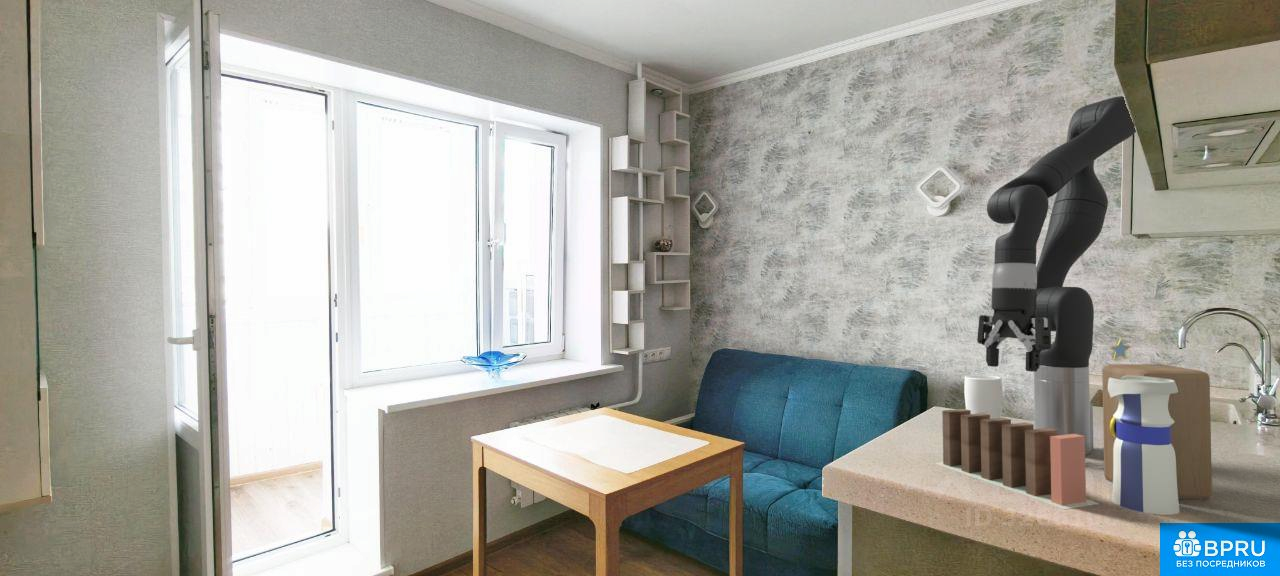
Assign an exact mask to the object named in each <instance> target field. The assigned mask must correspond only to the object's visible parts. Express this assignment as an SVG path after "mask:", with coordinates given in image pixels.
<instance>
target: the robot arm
mask: <svg viewBox="0 0 1280 576" xmlns="http://www.w3.org/2000/svg"><path fill="white" fill-rule="evenodd" d="M1123 96H1124V95H1120V96H1114V97H1110V98H1107V99H1103V100H1100V101H1096V102H1093V103H1089V104H1087V105H1084V106H1082V107H1080V108H1078V109H1076V111H1075V112H1073V114H1072V116H1071V118H1070V121H1069V125H1068V129H1067V134H1066V135H1067V137H1066V142H1065V143H1062V144H1060V145H1059V146H1057V147H1055V148H1054V149H1052V150H1051V151H1049V152H1047V153H1046V154H1044V155H1043V156H1042V157H1040V158H1039V160H1037V161H1036V162H1035V163H1034V164H1033V165H1032V166H1031V167H1029V168H1028V169H1027V170H1026V172H1025V173H1023V174H1020V176H1017V177H1015V178H1014V179H1012V180H1011V181H1009V182H1007V183H1006V184H1003V185H1002V186H1001V187H999V188H998V189H996V190H995V192H993V194H992V195H991V196H990V198H989V199H988V202H987V203H986V204H987V205H986V213H987V216H988V218H989V219H990V220H991V221H993V222H994V223H997V224H1000V225H1001V224H1002V225H1008V224H1013V225H1012V228H1011V230H1010V231H1009V232H1007V233H1005V234H1003V235H1000V236H998V237H997V238H996V240H995V243H994V259H993V260H994V262H993V263H994V266H993V272H992V277H991V278H992V280H991V281H992V282H991V307H990V308H991V309H992V310H993V314H992V315H988V314H980V315H979V318H978V327H977V328H978V329H977V338H976V339H977V340H976V342H977V344H981V345H983V346H984V347H985V349H986V350H985V353H986V354H985V361H986V364H987V366H988V367H991V368H992V367H993V368H995V367H996V368H997V367H999V361H1000V359H999V358H1000V348H998V347H999V346H1000V345H1001V344H1002V342H1003V341H1005V340H1006V339H1008V338H1009V339H1017V340H1018V341H1019V342H1021V343H1022V344H1023V346H1024V348H1025V349H1026V350H1027V351H1025V367H1024V368H1025V371H1026V372H1031V373H1032V372H1033V386H1034V387H1033V390H1034V392H1033V393H1034V429H1043V428H1051V429H1055V430H1058V436H1059V435H1068V434H1078V435H1082V436H1085V455H1088V454H1090V453H1091V451H1094V450H1095V449H1094V448H1095V447H1094V413H1093V412H1094V411H1093V410H1094V406H1093V403H1092V402H1091V401H1090V394H1091V393H1090V358H1091V354H1092V350H1093V340H1094V338H1093V337H1094V322H1095V321H1094V319H1095V318H1094V316H1095V312H1094V310H1095V309H1094V304H1093V300H1092V298H1091V295H1090V293H1089V292H1088V291H1087V290H1086V289H1084V288H1082V287H1079V286H1064V283H1065V280H1066V278H1067V276H1068V273H1069V271H1070V269H1071V268H1072V267H1073V265H1074V264H1075V263H1076V262H1077V261H1078V259H1080V257H1082V256H1083V254H1084V253H1086V251H1087V250H1088V249H1089V248H1090V247H1091V246H1092V245H1093V244H1094V242H1095V241H1096V240H1097V239H1098V237H1099V235H1101V232H1102V229H1103V226H1104V222H1105V219H1106V214H1107V211H1108V205H1109V199H1108V196H1107V192H1106V190H1105V189H1104V186H1103V185H1102V183H1101V181H1100V180H1099V178H1098V176H1097V174H1096V172H1095V169H1094V168H1095V167H1094V164H1095V160H1097V159H1098V158H1100V157H1101V156H1103V155H1104V154H1106V153H1107V152H1108V151H1110V150H1112V149H1113V148H1114V147H1116V146H1118V145H1119V144H1121V143H1122V142H1124V141H1126V140H1127V139H1129V138H1130V137H1132V136H1133V135H1135V133H1137V131H1136V130H1135V128H1134V124H1133V122H1132V119H1131V117H1130V114H1129V111H1128V109H1127V107H1126V104H1125V100H1124V97H1123ZM1053 196H1055V199H1054V203H1053V205H1052V208H1051V213H1050V217H1049V221H1048V222H1049V223H1048V227H1047V230H1046V231H1047V232H1046V234H1045V238H1044V241H1043V246H1042V249H1041V252H1040V255H1039V259H1038V262H1037V244H1038V242H1039V241H1038V240H1039V238H1040V235H1041V233H1042V231H1043V230H1042V229H1043V226H1044V224H1045V220H1046V218H1047V215H1048V213H1049V212H1048V211H1049V198H1051V197H1053ZM1036 264H1037V265H1036ZM1052 332H1055V336H1054V341H1053V342H1052Z"/></svg>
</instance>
